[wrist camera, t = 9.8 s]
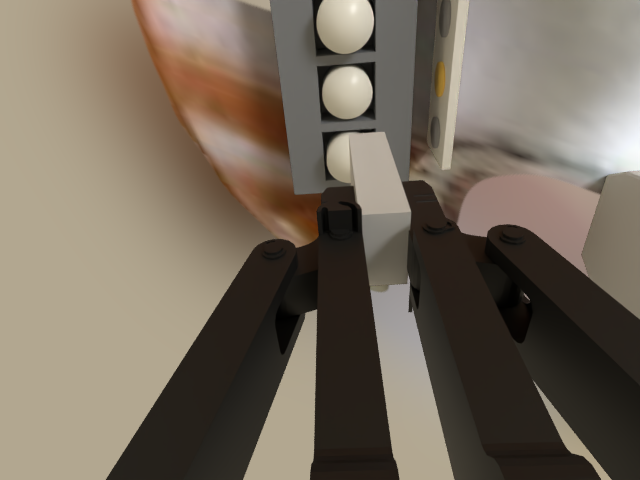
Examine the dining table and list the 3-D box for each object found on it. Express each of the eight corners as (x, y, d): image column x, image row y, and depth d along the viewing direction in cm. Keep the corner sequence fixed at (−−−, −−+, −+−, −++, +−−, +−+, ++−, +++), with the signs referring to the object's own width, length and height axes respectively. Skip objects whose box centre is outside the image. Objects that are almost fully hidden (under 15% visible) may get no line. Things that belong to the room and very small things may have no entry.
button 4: (325, 129, 41) (325, 140, 38) (371, 126, 41) (374, 137, 38) (328, 171, 43) (328, 184, 41) (371, 168, 43) (374, 181, 41)
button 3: (320, 62, 39) (320, 69, 36) (369, 58, 38) (372, 65, 36) (324, 111, 41) (324, 120, 39) (369, 107, 41) (372, 117, 39)
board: (261, -122, 32) (252, -133, 29) (413, -139, 32) (425, -151, 28) (297, 175, 47) (294, 194, 43) (401, 169, 46) (408, 187, 43)
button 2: (315, -11, 34) (314, -8, 32) (370, -16, 34) (373, -14, 31) (319, 49, 37) (318, 56, 34) (370, 45, 36) (373, 51, 34)
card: (441, -92, 33) (465, -103, 28) (454, -93, 33) (481, -104, 27) (424, 142, 45) (439, 169, 39) (434, 141, 45) (450, 169, 39)
